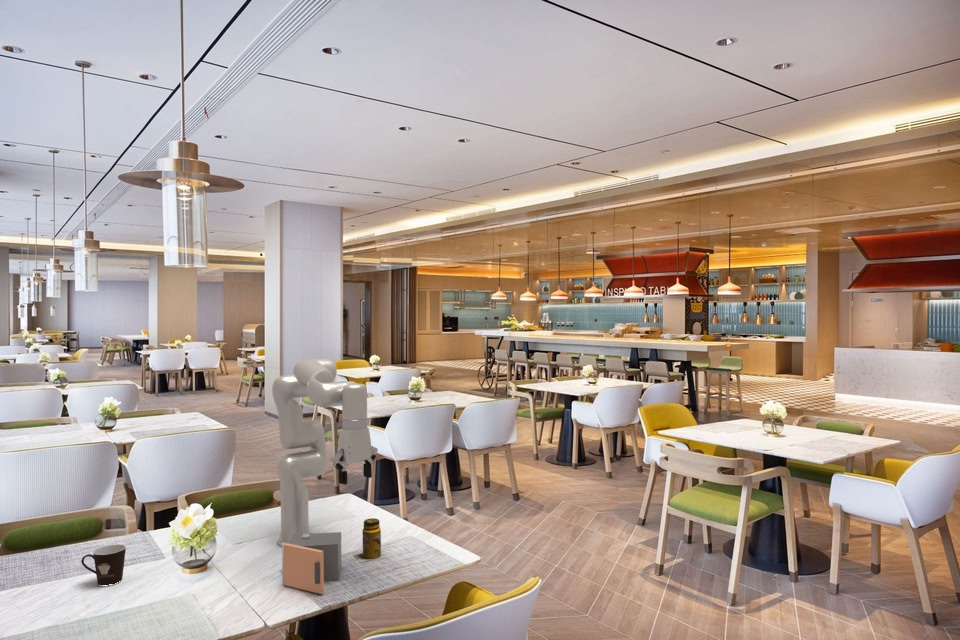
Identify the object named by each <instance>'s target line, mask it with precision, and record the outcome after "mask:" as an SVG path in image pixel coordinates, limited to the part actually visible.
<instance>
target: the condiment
mask: <svg viewBox="0 0 960 640" xmlns="http://www.w3.org/2000/svg"><path fill="white" fill-rule="evenodd" d="M381 533H382V531H381V527H380V519H378V518H374V517H373V518H367V519H364V521H363V529H362V553H356V554H355V553H354V554H353V557H355V559H357V560H358V561H359V562H360V563H364V562H371V561H374V560H377V559H378V560H379V559H383V558H385V557H386V556H385V555H383V554H382V542H381V541H382V536H381V535H382V534H381Z"/></svg>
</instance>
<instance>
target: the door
mask: <svg viewBox="0 0 960 640" xmlns="http://www.w3.org/2000/svg"><path fill="white" fill-rule="evenodd" d="M281 562H282V563H281V565H282V566H281V573H282V585H283V586H287V587H292V588H295V589H299V590H303V591H307V592H311V593H314V594H320V595H323V593H325V581H324V553H323V551H322V550H317V549H312V548H307V547H303V546H298V545H293V544H288V543H282V546H281Z"/></svg>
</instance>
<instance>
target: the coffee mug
mask: <svg viewBox="0 0 960 640" xmlns="http://www.w3.org/2000/svg"><path fill="white" fill-rule="evenodd" d="M126 550H127V547H126V545H124V544H109V545H105V546H101V547H98V548H96V549H94V550H93V551H92V553H93V554H90V553H88V554H86V555H84V556H83V557H82V558H81V565H82V566H83V567H84V568H85V569H86V570H88V571H90V572H91V573H93V574H95V575H96V581H97V582H96V583H97V585H98V584H99V585H109V584H115V583H117V582H119V581H121V580H122V581H123V576H124V567H125V560H126V559H125V558H126V552H127V551H126ZM87 557H91V558H92V559H93V561H94V562H93V563H94V568H95V570H94V569H92V568H91V567H89V566H87V565H86V564H85V558H87ZM122 581H121V582H122Z"/></svg>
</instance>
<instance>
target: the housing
mask: <svg viewBox="0 0 960 640" xmlns="http://www.w3.org/2000/svg"><path fill="white" fill-rule="evenodd" d="M289 544H293V545H298V546H303V547H307V548H312V549H317V550H322V551H323V553H324V582H333V581H339V580H340V574H341V571H342V568H343V567H342V565H343V564H342V532H341V531H336V532H319V533H318V532H317V533H310V534H298V535H293V536H292V538H291V540H290V542H289Z"/></svg>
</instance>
